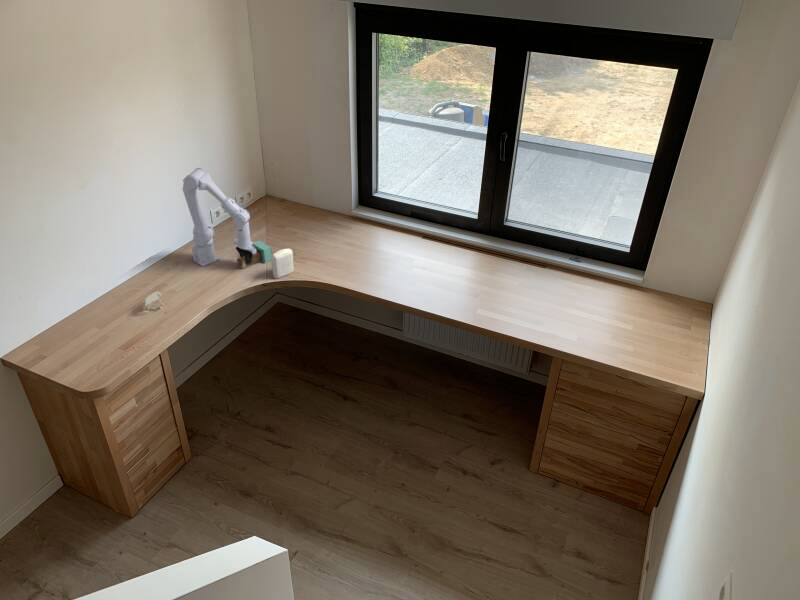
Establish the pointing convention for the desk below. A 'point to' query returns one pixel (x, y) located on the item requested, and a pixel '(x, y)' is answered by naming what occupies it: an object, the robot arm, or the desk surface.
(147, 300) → the origami figure
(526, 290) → the desk surface
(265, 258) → the teal angular block
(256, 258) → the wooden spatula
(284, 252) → the photo printer
